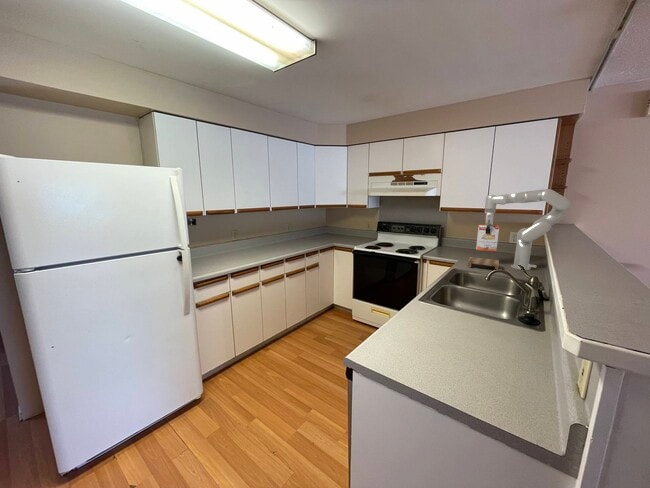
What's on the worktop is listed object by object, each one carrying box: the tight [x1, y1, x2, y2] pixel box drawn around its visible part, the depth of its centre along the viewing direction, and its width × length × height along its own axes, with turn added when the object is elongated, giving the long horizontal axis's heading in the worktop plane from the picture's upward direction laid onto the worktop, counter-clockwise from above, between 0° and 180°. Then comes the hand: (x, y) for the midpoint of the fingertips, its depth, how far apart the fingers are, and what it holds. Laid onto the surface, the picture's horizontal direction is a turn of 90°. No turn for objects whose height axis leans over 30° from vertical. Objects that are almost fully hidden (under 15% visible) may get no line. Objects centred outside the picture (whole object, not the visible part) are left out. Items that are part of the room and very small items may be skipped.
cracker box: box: [475, 224, 500, 253], centre depth 216 cm, size 14×6×21 cm, turn 70°
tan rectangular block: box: [467, 256, 500, 270], centre depth 209 cm, size 20×14×6 cm
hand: (487, 232), depth 215 cm, fingers closed on cracker box, 6 cm apart
